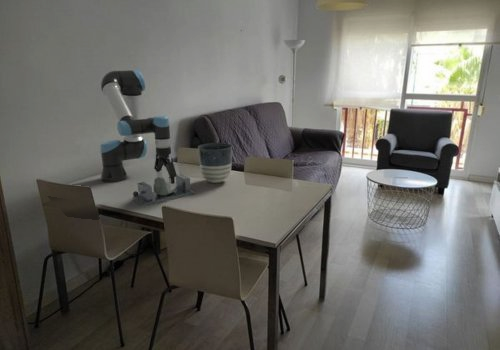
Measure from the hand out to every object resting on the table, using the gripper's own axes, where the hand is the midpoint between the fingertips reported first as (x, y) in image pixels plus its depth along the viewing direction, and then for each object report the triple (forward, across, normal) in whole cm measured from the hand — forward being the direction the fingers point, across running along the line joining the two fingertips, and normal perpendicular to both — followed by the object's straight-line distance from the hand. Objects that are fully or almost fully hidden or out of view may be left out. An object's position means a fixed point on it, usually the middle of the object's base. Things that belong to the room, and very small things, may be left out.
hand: (166, 186), depth 196 cm
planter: (+6, -3, +34) cm, 35 cm away
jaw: (+4, 0, -14) cm, 15 cm away
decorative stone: (+4, 0, 0) cm, 4 cm away
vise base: (+5, 0, -2) cm, 6 cm away
